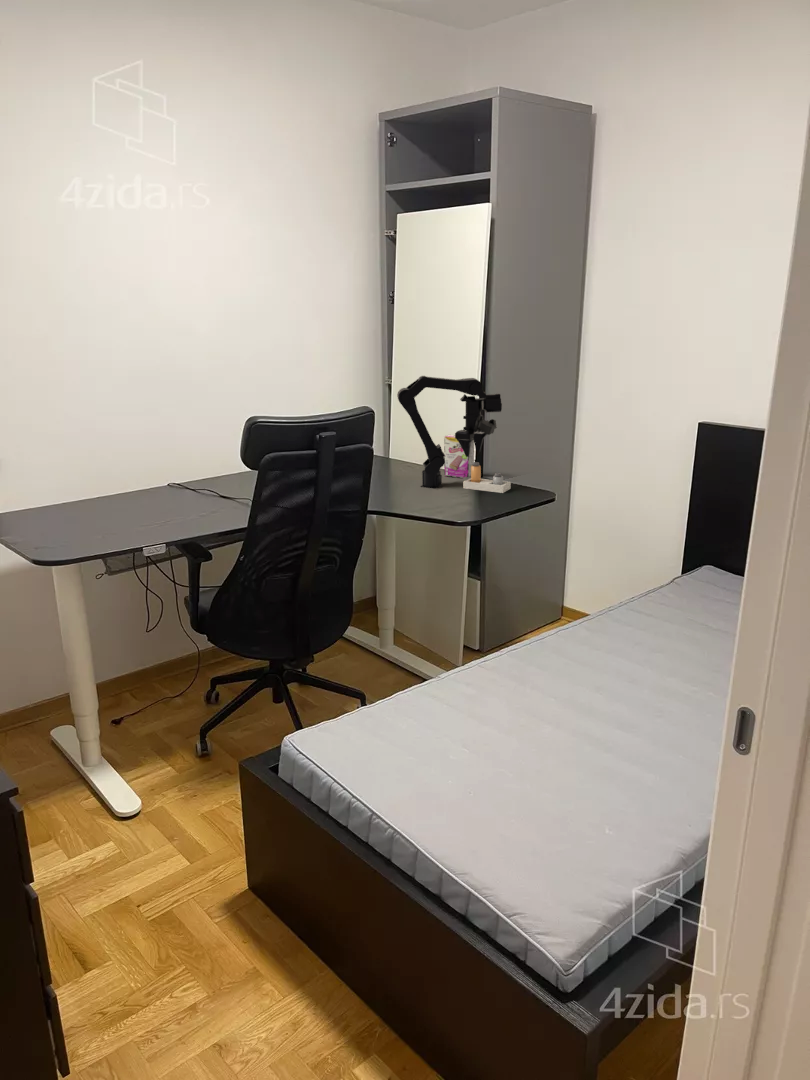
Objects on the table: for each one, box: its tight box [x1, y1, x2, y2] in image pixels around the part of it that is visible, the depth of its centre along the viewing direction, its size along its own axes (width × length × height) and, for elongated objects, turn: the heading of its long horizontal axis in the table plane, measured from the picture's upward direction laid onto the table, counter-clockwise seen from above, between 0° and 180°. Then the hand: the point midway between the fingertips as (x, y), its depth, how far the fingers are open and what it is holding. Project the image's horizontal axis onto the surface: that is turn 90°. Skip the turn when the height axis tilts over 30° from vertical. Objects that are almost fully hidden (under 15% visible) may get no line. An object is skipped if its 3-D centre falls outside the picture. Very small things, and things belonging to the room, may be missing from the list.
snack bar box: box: [443, 434, 475, 479], centre depth 311 cm, size 11×5×16 cm, turn 58°
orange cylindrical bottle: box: [470, 461, 482, 483], centre depth 292 cm, size 4×4×9 cm
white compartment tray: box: [462, 477, 512, 494], centre depth 291 cm, size 16×7×4 cm, turn 59°
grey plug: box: [492, 472, 504, 485], centre depth 288 cm, size 4×4×6 cm
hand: (473, 454), depth 297 cm, fingers open, 9 cm apart
